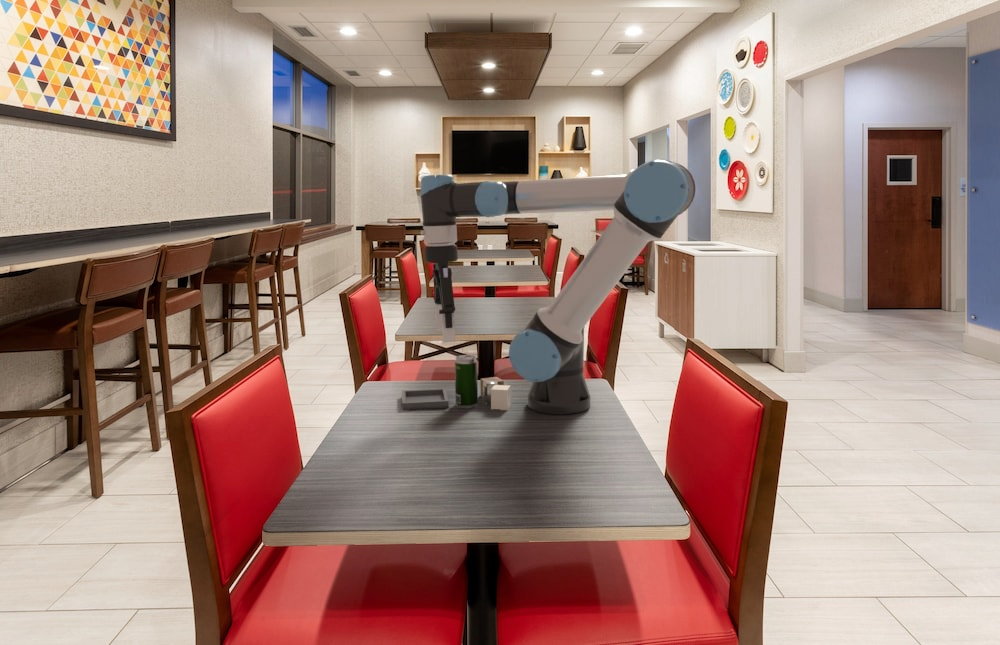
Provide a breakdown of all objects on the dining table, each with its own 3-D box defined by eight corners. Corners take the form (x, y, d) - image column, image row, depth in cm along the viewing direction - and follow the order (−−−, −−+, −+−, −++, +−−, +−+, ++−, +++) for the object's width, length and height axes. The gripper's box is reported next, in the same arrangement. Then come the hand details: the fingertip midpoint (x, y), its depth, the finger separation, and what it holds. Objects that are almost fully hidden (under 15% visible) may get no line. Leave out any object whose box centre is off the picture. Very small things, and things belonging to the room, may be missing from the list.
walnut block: (496, 393, 181) (496, 376, 180) (503, 398, 177) (503, 381, 176) (480, 395, 180) (480, 378, 179) (487, 400, 176) (487, 383, 175)
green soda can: (465, 410, 168) (464, 361, 166) (451, 405, 172) (449, 357, 169) (482, 405, 172) (481, 357, 169) (467, 400, 175) (466, 353, 173)
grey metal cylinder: (496, 399, 176) (496, 380, 175) (498, 404, 172) (498, 384, 171) (482, 400, 175) (482, 381, 174) (484, 404, 172) (483, 384, 171)
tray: (445, 394, 181) (445, 388, 180) (448, 407, 170) (448, 400, 170) (402, 396, 179) (402, 390, 179) (402, 409, 169) (402, 403, 168)
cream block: (510, 405, 171) (510, 385, 170) (507, 410, 167) (507, 390, 167) (494, 404, 172) (494, 384, 171) (491, 409, 168) (490, 389, 167)
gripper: (419, 242, 171) (424, 328, 175) (429, 248, 147) (435, 348, 151) (450, 240, 173) (454, 325, 176) (464, 247, 148) (469, 345, 152)
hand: (445, 336), depth 164 cm, fingers open, 13 cm apart
